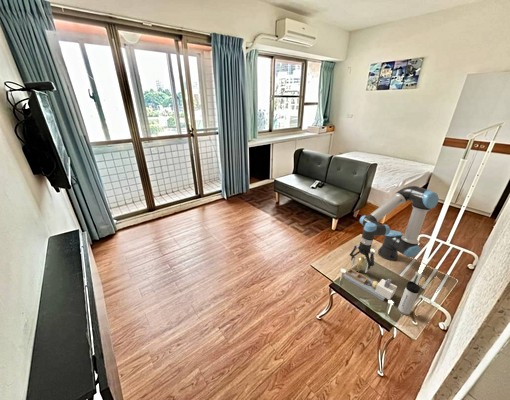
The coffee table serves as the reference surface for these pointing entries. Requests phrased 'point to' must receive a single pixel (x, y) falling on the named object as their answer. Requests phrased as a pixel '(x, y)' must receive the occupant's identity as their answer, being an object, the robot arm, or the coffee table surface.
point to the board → (362, 282)
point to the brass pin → (360, 264)
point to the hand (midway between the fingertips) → (359, 268)
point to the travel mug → (408, 298)
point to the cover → (386, 288)
